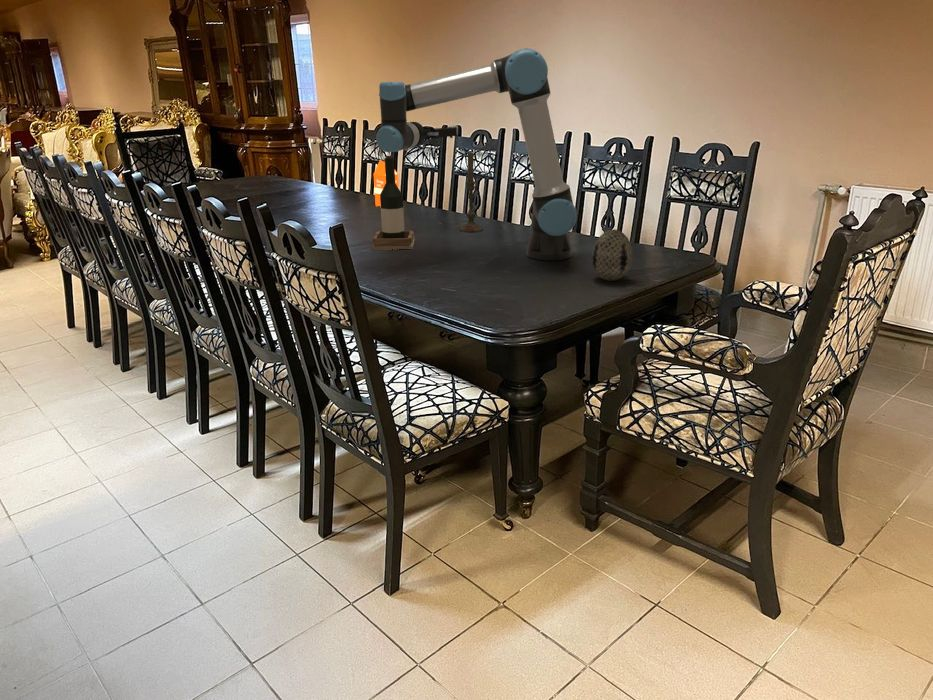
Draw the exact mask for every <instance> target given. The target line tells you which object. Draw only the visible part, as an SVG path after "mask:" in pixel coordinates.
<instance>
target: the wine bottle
mask: <svg viewBox="0 0 933 700" xmlns="http://www.w3.org/2000/svg"><path fill="white" fill-rule="evenodd" d="M384 162H385V175H386V184H385V186H384V188H383V190H382V192H381V194H380V204H381V207H380V217H381V218H380V219H381V220H380V221H381V231H382V237H383V238H405V231H406V230H405V213H404V196H403V193H402V192H401V190H400V187H399V188H398V187H397V185H396V183H395V170H396V169H395V158H394V156H393V155H385V158H384Z"/></svg>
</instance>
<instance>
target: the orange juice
mask: <svg viewBox="0 0 933 700" xmlns="http://www.w3.org/2000/svg"><path fill="white" fill-rule="evenodd" d="M395 183H396V185H397V187H398V188H399V189H400V187H399V186H400V184H399V183H400V182H399V173H398V172H397V171H396V169H395ZM373 184H374V186H373V187H374V189H373V190H374V200H375V201H374V202H375V207H378V206H380V207H379V208H381V204H380V194H381V192H382V190H383V188H384V186H385V184H386V175H385V161H383V160H380V161H378V164H377V165H376V168H375V170H374V172H373Z"/></svg>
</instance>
